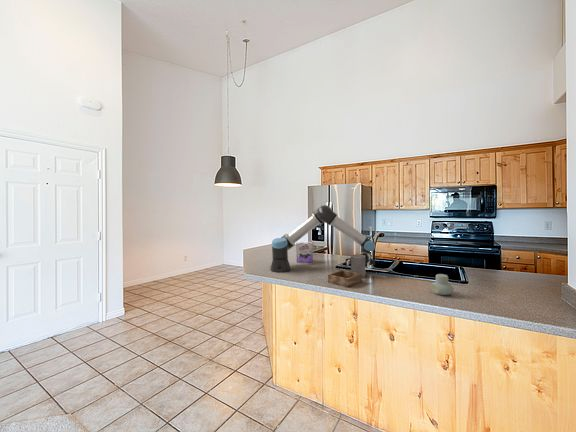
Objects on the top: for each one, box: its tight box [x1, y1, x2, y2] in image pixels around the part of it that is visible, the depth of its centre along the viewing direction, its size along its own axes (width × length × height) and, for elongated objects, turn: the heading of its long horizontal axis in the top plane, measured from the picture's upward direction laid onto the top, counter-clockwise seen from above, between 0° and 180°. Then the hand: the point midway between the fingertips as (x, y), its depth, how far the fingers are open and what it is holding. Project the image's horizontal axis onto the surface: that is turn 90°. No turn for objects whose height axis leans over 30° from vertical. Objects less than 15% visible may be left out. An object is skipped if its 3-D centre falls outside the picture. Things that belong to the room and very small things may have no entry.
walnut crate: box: [327, 269, 363, 288], centre depth 171 cm, size 15×15×5 cm
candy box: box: [295, 241, 314, 263], centre depth 231 cm, size 14×6×16 cm, turn 80°
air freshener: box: [430, 273, 455, 296], centre depth 146 cm, size 11×8×10 cm
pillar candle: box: [350, 253, 366, 278], centre depth 185 cm, size 10×10×15 cm
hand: (357, 264), depth 182 cm, fingers open, 13 cm apart
